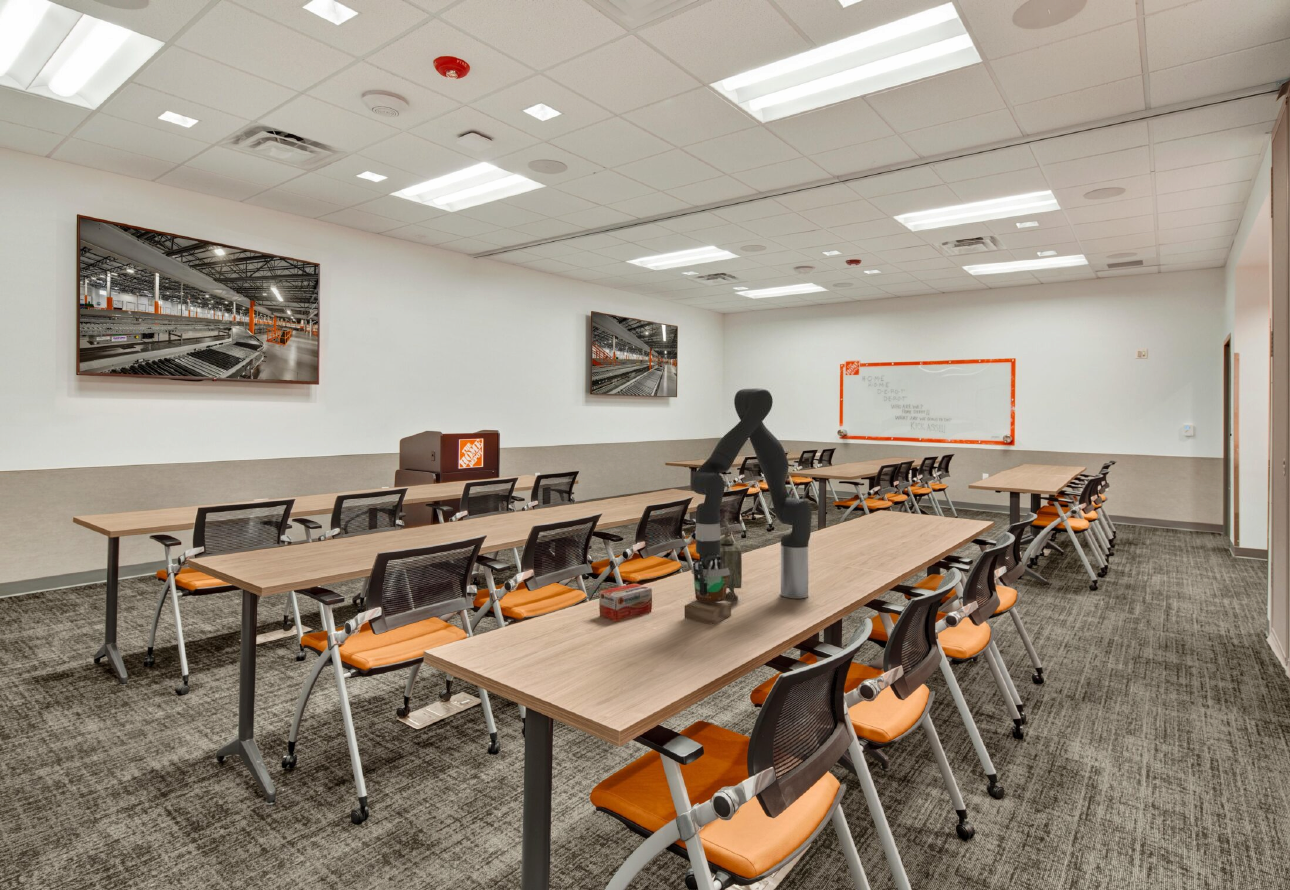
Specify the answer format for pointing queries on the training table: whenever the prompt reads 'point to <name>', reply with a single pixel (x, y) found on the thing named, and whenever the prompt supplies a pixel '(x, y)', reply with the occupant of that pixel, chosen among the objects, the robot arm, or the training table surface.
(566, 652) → the training table surface
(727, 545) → the tabletop clock
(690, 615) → the plinth
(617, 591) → the medicine box
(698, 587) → the food container
